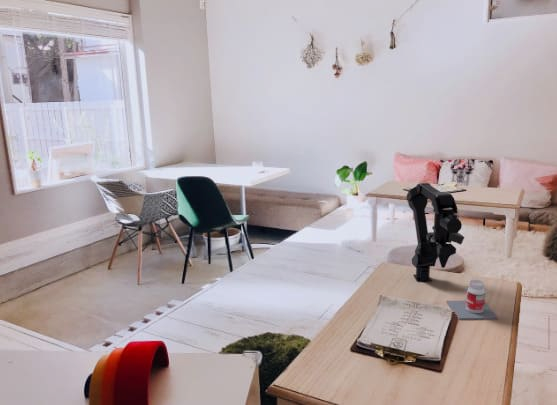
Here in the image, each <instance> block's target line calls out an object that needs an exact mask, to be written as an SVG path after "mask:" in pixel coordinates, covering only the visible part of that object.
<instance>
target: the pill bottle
mask: <svg viewBox="0 0 557 405" xmlns="http://www.w3.org/2000/svg"><path fill="white" fill-rule="evenodd" d="M484 287H485V282H483V281H482V280H479V279H472V280H470V282H469V286H468V287H467V291H466V300H467V301H466V309H467V310H468V311H469V312H472V313H482V312H483V311H484V303H486V289H485V288H484Z"/></svg>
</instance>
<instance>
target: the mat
mask: <svg viewBox="0 0 557 405" xmlns="http://www.w3.org/2000/svg"><path fill="white" fill-rule="evenodd" d="M466 301H467V299H465V300H446V304H447V305H448V307H449V308H450V310H453V311H454V312H455V313H454V312H453V311H452V312H453V313H454V315H455V314H456V315H457V316H456V315H455V316H456V318H457V317H458V318H457V319H458V320H459V321H460V320H465V321H466V320H469V321H470V320H471V321H473V320H499V316H498V315H497V314H496V313H495V312H494V310H492V309H491V307H490V306H489V304H487V303H486V302H485V303H484V311H483V312H482V313H472V312H469V311H468V310H467V309H466Z"/></svg>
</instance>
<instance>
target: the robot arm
mask: <svg viewBox="0 0 557 405" xmlns="http://www.w3.org/2000/svg"><path fill="white" fill-rule="evenodd" d="M428 200H429V201H431V206H432V207H433V210H432V212H433V213H434V221H433V226H432V227H431V228H432V229H431V230H433V232H432V231H431V232H430V231H429V230H428V224H427V223H428V222H427V217H426V207H427V205H428ZM406 201H407V204H408V207H409V208H410V210H412V211H413V218H414V225H415V232H416V240H417V245H416V248H415V250H414V255H413V256H412V258H411V264H412V266H414V267H415V273H414V274H413V278H414V279H415V280H416V282H432V281H433V279H432V278H431V276H430V274H431V273H430V272H431V267H435V266H436V262H437V260H438V261H439V263H440V267H441V268H445V267H446V265H447V263H448V260H449V258H450V257H451V256H454V255H455V254H457V248H456V246H454V245H453V244H452V242H453V243H456V244H458V245H463V242H464V239H465V236H463V234H461V233H459V232H460V230H461V229H462V227H463V224H462V221H461V220H460V219H459V218H458V215H457V214H458V206H457V203H456V200H455V198H454V196H453V195H452V193H450V192H443V191H440V190H438V189H437V188H435V186H432V185H431V183H430V182H429V183H428V182H418V184H416V186H414V187H413V188H410V189H409V191H408V192H407V193H406ZM428 231H429V232H428Z"/></svg>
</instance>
